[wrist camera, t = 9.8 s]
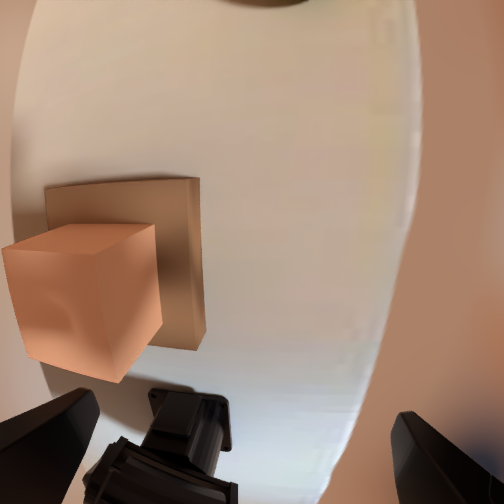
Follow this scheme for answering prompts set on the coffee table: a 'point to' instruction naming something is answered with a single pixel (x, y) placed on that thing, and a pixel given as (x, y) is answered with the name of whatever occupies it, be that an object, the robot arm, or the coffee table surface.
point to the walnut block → (166, 239)
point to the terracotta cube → (86, 296)
